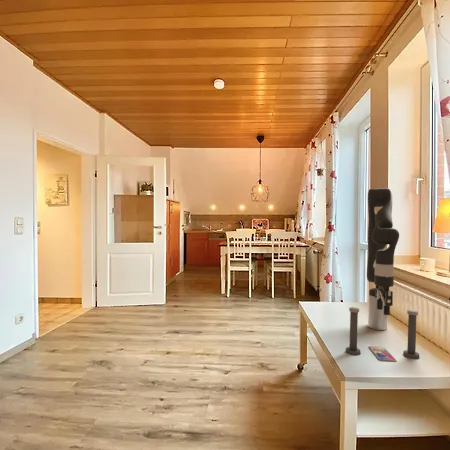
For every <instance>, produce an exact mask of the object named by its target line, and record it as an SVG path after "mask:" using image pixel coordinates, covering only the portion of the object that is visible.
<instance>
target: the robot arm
mask: <svg viewBox="0 0 450 450" xmlns="http://www.w3.org/2000/svg"><path fill="white" fill-rule="evenodd" d="M376 207H377V208H380V207H381V208H380V209H378V210H377V211H376ZM392 212H393V191H392V190H391V188H390V187H384V188H383V187H379V188H375V187H374V188H369V189H368V191H367V213H368V224H367V225H368V226H367V261H366V262H367V266H366V280H367V281H368V283H374V285H375V287H374V288H373V287H372V288H370V289H369V290H368V320H367V322H368V324H367V327H368V328H370V329H373V330H378V331H385V330H388V316H390V314H391V313H390V312H391V307H393V305H394V304H393V301H394V300H393V298H394V297H393V293H394V292H393V291H392V290H390V288H392V287H393V286H394V285H395V283H394V282H395V281H394V280H395V268H394V259H395V258H394V257H395V251H396V247H397V245H398V243H399V239H400V232H399V230H398V229H397V228H395V227H394V228H393V226H394V223H393V217H392ZM387 245H388V247H386V246H387Z"/></svg>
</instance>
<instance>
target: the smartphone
mask: <svg viewBox="0 0 450 450" xmlns="http://www.w3.org/2000/svg"><path fill="white" fill-rule="evenodd" d="M368 349H369V350H370V351H371V353H372V355H374V356H375V358H376V359H377V360H378V361H379V360H380V362H391V363H396V362H398V361H397V359H396V358H395V357H394V356H393V354H391V353H390V351H389V350H388V349H387V348H386V347H383V346H374V345H369V346H368Z"/></svg>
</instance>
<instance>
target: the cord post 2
mask: <svg viewBox="0 0 450 450" xmlns="http://www.w3.org/2000/svg"><path fill="white" fill-rule="evenodd" d="M406 313H407V315H408V320H407V321H408V322H407V350H406V349H405V350H403V351H402V352H403V354H402V355H403V356H404V357H406V358H409V359H415V360H416V359H417V360H418V359H420V353H419V352H417V351H416V344H417V317H418V315H419V311H417V310H414V309H407V311H406Z"/></svg>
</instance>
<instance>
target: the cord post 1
mask: <svg viewBox="0 0 450 450" xmlns="http://www.w3.org/2000/svg"><path fill="white" fill-rule="evenodd" d="M348 308H349V309H348V311H349V312H350V313H349V314H350V315H349V316H350V317H349V346H347V347H345V353H346V354H348V355H351V356H359V355H361V349H360V348H358V320H359V319H358V318H359V312H360V308H358V307H353V306H352V307H348Z"/></svg>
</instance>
